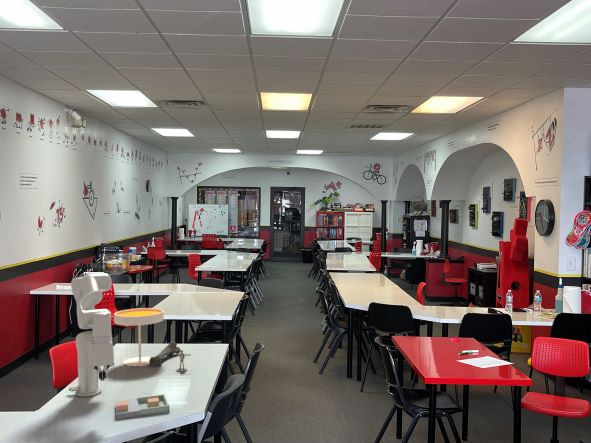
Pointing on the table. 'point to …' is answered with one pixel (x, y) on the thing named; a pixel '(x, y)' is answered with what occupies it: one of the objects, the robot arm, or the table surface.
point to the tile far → (153, 402)
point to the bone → (164, 354)
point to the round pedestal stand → (138, 318)
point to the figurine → (182, 361)
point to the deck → (129, 409)
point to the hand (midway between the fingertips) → (102, 379)
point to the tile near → (122, 406)
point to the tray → (147, 410)
